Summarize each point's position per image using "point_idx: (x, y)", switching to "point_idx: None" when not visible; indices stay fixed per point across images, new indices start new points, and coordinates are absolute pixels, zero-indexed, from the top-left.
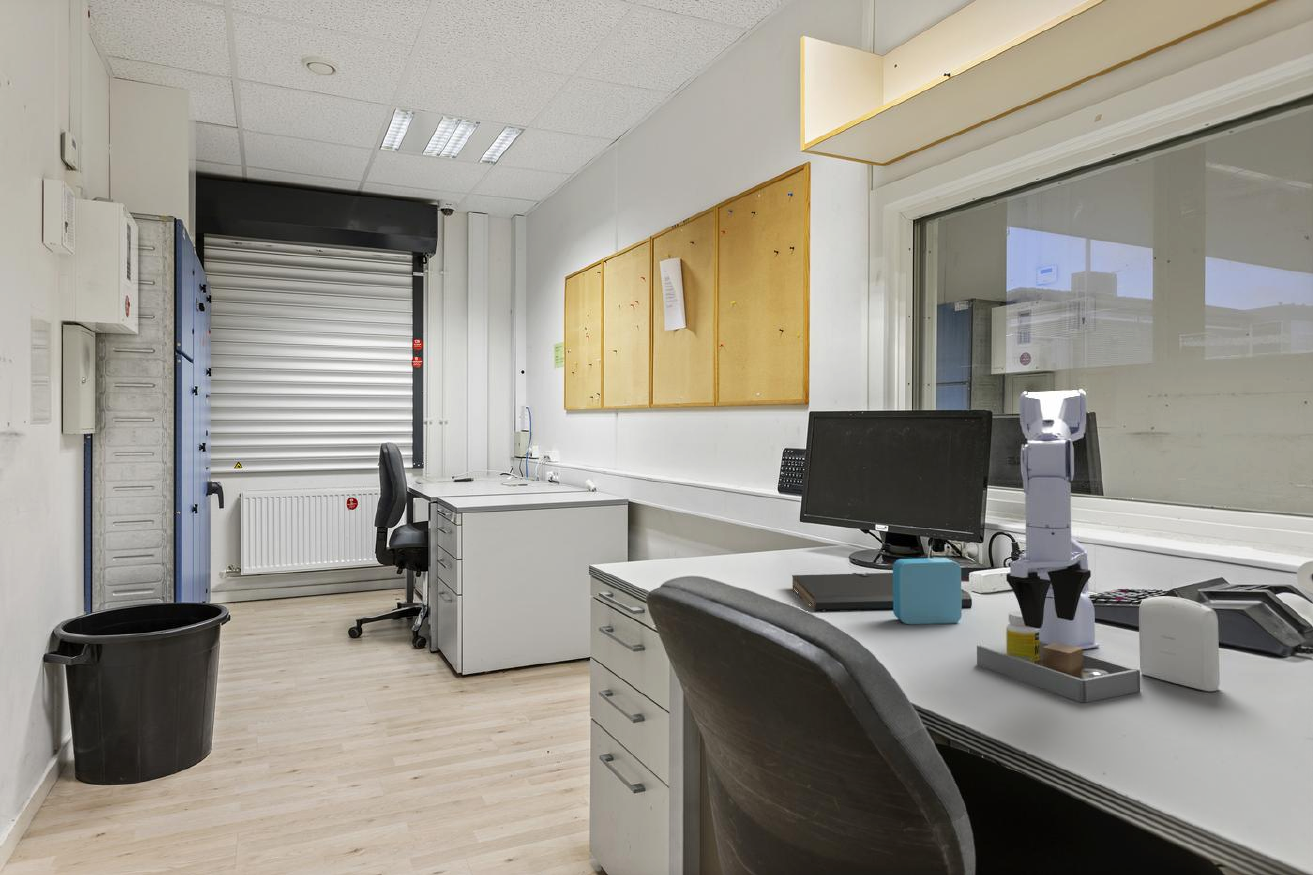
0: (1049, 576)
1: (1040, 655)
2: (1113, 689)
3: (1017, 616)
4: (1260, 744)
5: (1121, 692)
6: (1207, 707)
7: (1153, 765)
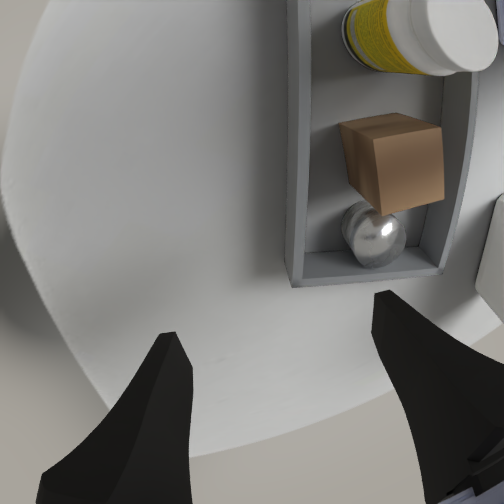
0: (469, 409)
1: None
2: None
3: (430, 27)
4: (337, 398)
5: None
6: None
7: None
